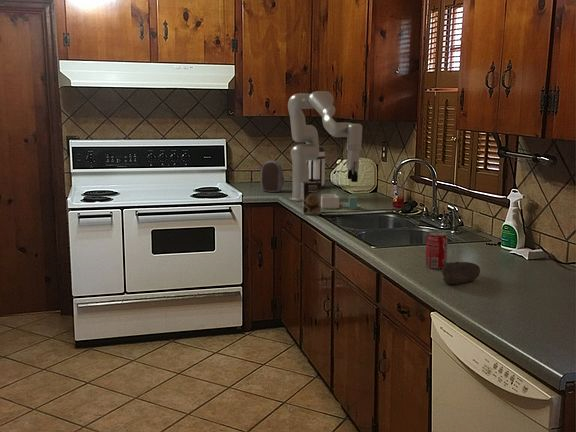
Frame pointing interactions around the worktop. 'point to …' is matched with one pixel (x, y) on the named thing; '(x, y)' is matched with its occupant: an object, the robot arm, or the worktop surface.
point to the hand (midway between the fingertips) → (352, 180)
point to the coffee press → (317, 168)
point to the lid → (351, 203)
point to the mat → (348, 208)
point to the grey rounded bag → (272, 176)
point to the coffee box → (310, 198)
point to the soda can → (436, 250)
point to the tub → (329, 201)
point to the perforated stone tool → (460, 272)
